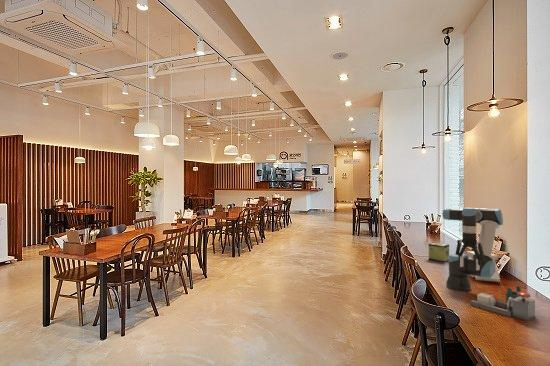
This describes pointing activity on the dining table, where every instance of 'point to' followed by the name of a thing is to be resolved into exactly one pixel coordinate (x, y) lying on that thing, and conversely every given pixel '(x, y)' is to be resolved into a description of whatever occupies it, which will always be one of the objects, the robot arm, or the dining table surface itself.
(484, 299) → the cube with cylindrical stub
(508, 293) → the green irregular piece
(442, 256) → the protein box
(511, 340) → the dining table surface
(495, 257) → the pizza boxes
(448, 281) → the robot arm
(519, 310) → the button station
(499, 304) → the guide rails
